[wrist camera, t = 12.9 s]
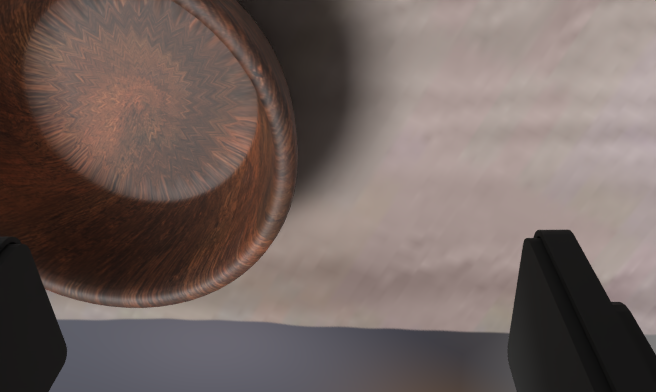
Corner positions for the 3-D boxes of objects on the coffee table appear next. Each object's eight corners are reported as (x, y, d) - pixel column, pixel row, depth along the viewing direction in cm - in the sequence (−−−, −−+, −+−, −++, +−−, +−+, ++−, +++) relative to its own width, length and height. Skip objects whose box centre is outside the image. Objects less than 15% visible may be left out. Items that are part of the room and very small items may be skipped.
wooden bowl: (376, 105, 44) (381, 168, 36) (172, 278, 54) (136, 362, 45) (105, -176, 36) (23, -184, 27) (-80, 89, 45) (-186, 147, 36)
